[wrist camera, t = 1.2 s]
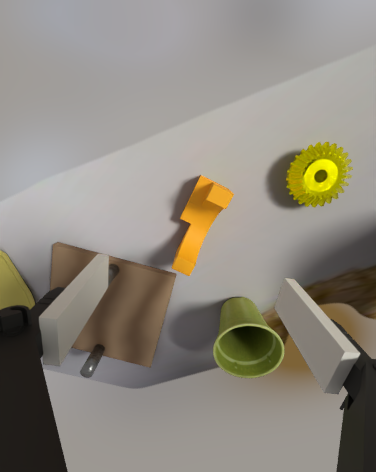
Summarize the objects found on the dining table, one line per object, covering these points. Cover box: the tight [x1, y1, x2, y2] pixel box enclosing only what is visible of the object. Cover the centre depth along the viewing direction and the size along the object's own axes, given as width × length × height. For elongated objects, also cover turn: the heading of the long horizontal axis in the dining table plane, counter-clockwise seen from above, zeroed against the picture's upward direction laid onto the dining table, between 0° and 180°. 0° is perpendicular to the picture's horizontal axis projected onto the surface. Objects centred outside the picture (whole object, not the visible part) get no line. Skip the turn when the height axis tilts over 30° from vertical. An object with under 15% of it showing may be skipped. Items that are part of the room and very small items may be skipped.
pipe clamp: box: [172, 175, 234, 276], centre depth 30 cm, size 12×4×6 cm, turn 154°
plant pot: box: [213, 297, 284, 378], centre depth 33 cm, size 9×9×9 cm
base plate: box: [50, 242, 176, 367], centre depth 38 cm, size 20×20×1 cm
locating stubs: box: [80, 264, 119, 378], centre depth 35 cm, size 2×19×5 cm, turn 165°
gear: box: [286, 142, 353, 207], centre depth 28 cm, size 8×4×8 cm
